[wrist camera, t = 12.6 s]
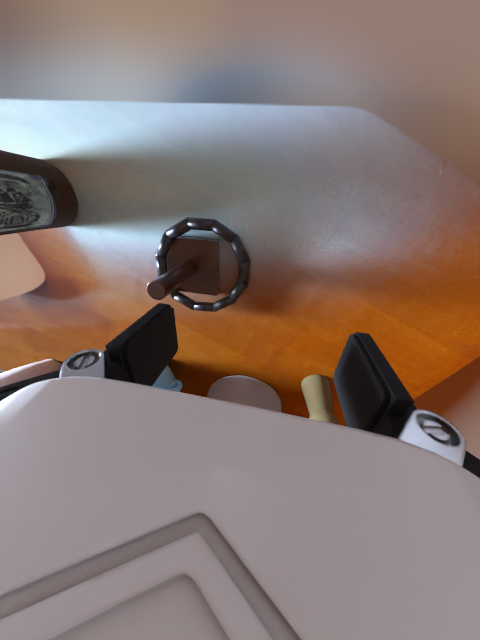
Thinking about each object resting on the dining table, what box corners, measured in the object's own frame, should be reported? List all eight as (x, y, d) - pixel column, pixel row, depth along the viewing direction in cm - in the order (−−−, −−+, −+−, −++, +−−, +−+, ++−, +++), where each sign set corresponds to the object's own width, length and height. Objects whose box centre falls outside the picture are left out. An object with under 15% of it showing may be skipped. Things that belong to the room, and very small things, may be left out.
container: (252, 436, 56) (243, 504, 43) (194, 402, 53) (166, 464, 40) (299, 404, 47) (306, 478, 34) (232, 361, 44) (213, 425, 31)
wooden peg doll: (307, 371, 42) (316, 418, 32) (336, 379, 42) (352, 430, 32) (296, 390, 45) (301, 438, 36) (323, 398, 45) (334, 449, 35)
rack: (166, 235, 33) (112, 248, 23) (219, 239, 32) (189, 256, 22) (172, 286, 38) (129, 318, 27) (218, 292, 37) (193, 327, 26)
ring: (152, 214, 30) (147, 215, 29) (252, 221, 30) (253, 222, 29) (164, 305, 38) (161, 309, 37) (245, 311, 38) (245, 315, 36)
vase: (70, 393, 61) (-43, 493, 40) (25, 363, 58) (-125, 455, 36) (88, 373, 55) (-35, 479, 34) (39, 337, 51) (-134, 431, 30)
